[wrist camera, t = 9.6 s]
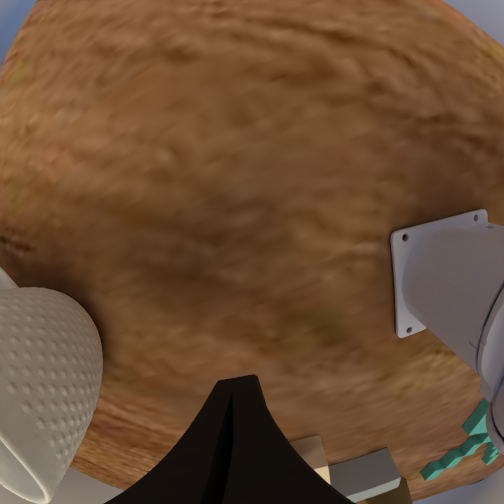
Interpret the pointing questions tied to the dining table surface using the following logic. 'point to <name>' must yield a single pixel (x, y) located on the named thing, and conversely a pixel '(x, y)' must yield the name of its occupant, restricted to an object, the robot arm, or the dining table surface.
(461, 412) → the dining table surface
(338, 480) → the board
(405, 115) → the dining table surface
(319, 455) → the maple block
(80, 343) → the mug
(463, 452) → the alien figure
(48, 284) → the dining table surface
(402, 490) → the cork
